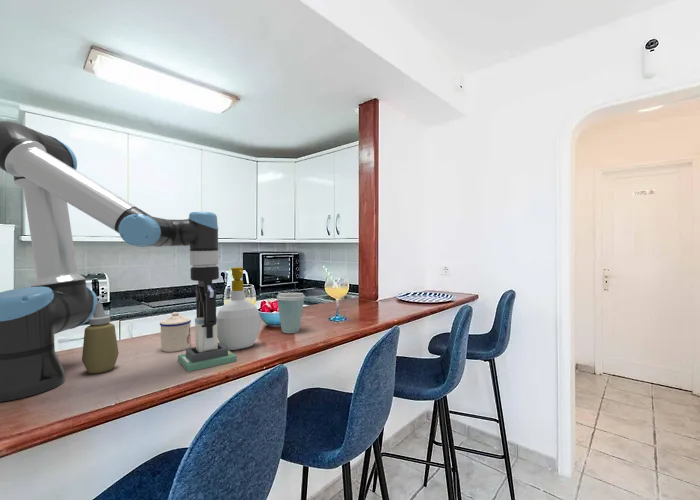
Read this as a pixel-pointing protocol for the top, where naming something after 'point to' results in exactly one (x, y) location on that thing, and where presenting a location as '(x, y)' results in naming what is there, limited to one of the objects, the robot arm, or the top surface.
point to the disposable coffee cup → (290, 311)
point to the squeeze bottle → (99, 343)
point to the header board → (206, 358)
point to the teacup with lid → (175, 333)
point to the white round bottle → (237, 317)
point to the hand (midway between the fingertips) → (206, 346)
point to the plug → (200, 335)
